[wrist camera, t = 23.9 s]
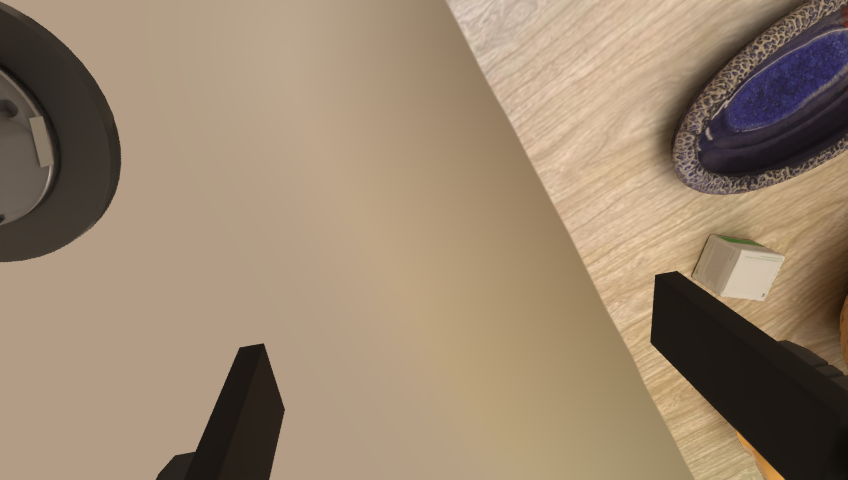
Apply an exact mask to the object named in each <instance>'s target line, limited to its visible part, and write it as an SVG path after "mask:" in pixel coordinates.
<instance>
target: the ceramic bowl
mask: <svg viewBox="0 0 848 480" xmlns="http://www.w3.org/2000/svg"><path fill="white" fill-rule="evenodd" d="M840 341H841V347H842V355H843V358H844V360H845V363H846V365H847V368H848V295H847V297H846V299H845V302H844V305H843V308H842V311H841V315H840Z"/></svg>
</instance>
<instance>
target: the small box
mask: <svg viewBox="0 0 848 480" xmlns="http://www.w3.org/2000/svg"><path fill="white" fill-rule="evenodd" d="M784 259H785V256H784V255H781V254H779V253H777V252H775V251H773V250H771V249H769V248H767V247H765V246H762V245H760V244H758V243H756V242H754V241H752V240H744V239H737V238H730V237H724V236H718V235H710V237H709V239H708V241H707V243H706V245H705V248H704V250H703V253H702V255H701V258H700V260H699V262H698V264H697V267H696V269H695V271H694V273H693V275H692V278H694V279H695V280H697V281H698V282H700V283H701V284H703V285H704V286H706V287H707V288H709V289H710V290H712V291H713V292H715V293H716V294H718V295H719V296H722V297H730V298H739V299H747V300H756V301H764V300H765V298H766V296H767V294H768V292H769V290H770V288H771V286H772V284H773V281H774V279H775V278H776V276H777V274H778V272H779V270H780V268H781V266H782V263H783V261H784Z"/></svg>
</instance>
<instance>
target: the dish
mask: <svg viewBox="0 0 848 480" xmlns="http://www.w3.org/2000/svg"><path fill="white" fill-rule="evenodd" d="M847 149H848V0H808V1H807V2H805V3H803V4H802V5H800V6H799V7H797V8H795V9H794V10H792V11H791V12H789V13H787V14H786V15H784V16H783V17H781V18H780V19H779V20H777V21H776V22H774V23H773V24H771V25H770V26H769V27H767V28H766V29H764V30H763V31H762V32H761V33H759V34H758V35H757V36H756V37H754V38H753V39H752V40H750V41H749V42H748V43H747V44H746V45H744V46H743V47H742V48H741V49H740V50H739V51H737V52H736V53H735V54H734V55H733V56H732V57H731V58H729V59H728V60H727V61H726V62H725V63H724V64H723V65H722V66H721V67H720V68H719V69H718V70H717V71H716V72H715V73H714V74H713V75H712V76H711V77H710V79H709V80H708V81H707V82H706V83H705V84H704V85H703V86H702V88H701V89H700V90H699V91H698V93H697V94H696V95H695V97H694V98H693V99H692V101H691V102H690V104H689V105H688V107H687V108H686V110H685V111H684V113H683V115H682V116H681V118H680V121H679V123H678V125H677V127H676V129H675V132H674V135H673V139H672V142H671V158H672V163H673V165H674V170H675V172H676V174H677V176H678V178H679V179H680V180H681V181H682V182H683V183H684V184H685V185H687V186H688V187H690V188H692V189H694V190H696V191H699V192H703V193H707V194H717V195H728V194H738V193H744V192H749V191H754V190H758V189H761V188H765V187H768V186H771V185H775V184H777V183H780V182H783V181H785V180H788V179H790V178H793V177H795V176H798V175H800V174H802V173H804V172H806V171H809V170H811V169H813V168H815V167H817V166H819V165H821V164H823V163H824V162H826V161H828V160H830V159H832V158H834V157H836V156H837V155H839V154H840V153H842V152H844V151H845V150H847Z"/></svg>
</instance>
